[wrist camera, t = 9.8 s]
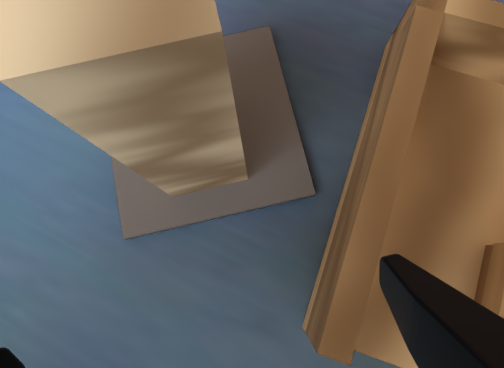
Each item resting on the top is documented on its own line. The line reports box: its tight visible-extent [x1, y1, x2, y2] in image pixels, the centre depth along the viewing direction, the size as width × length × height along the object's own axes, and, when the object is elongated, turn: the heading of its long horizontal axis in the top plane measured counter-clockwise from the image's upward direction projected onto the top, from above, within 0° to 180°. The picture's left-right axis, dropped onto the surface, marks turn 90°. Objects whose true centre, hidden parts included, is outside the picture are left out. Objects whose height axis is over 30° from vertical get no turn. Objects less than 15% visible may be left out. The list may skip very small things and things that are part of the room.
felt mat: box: [111, 26, 316, 239], centre depth 19 cm, size 10×10×1 cm
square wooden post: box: [0, 0, 248, 197], centre depth 12 cm, size 4×5×12 cm
